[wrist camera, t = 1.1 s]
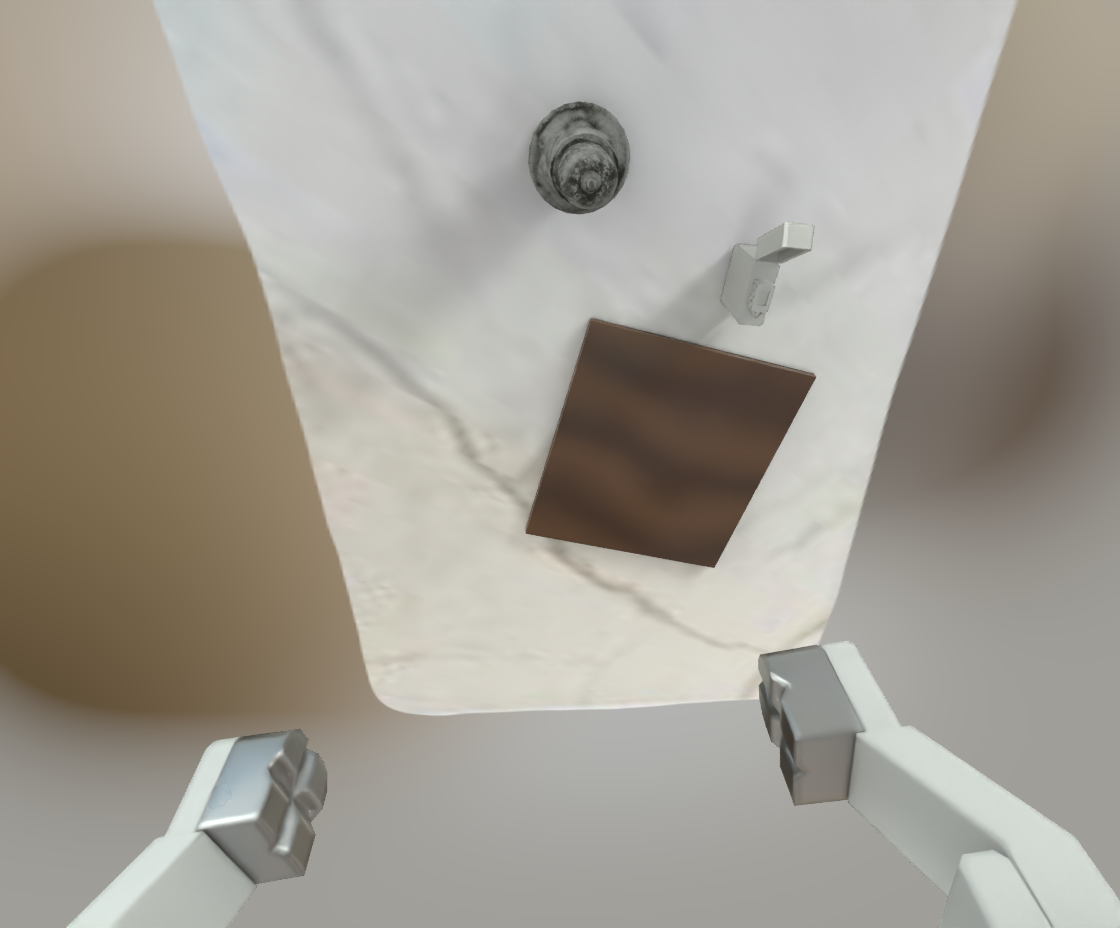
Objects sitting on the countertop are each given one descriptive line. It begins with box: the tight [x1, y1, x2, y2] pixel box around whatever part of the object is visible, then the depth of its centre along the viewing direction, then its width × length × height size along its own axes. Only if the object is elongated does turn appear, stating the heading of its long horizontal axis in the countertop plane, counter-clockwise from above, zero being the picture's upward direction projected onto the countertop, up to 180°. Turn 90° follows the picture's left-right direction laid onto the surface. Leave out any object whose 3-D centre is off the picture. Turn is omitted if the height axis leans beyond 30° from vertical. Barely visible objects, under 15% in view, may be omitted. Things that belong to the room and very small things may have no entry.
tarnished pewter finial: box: [528, 102, 630, 214], centre depth 34 cm, size 6×6×12 cm
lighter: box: [721, 222, 814, 326], centre depth 40 cm, size 7×2×8 cm, turn 174°
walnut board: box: [526, 318, 816, 568], centre depth 51 cm, size 20×18×1 cm
